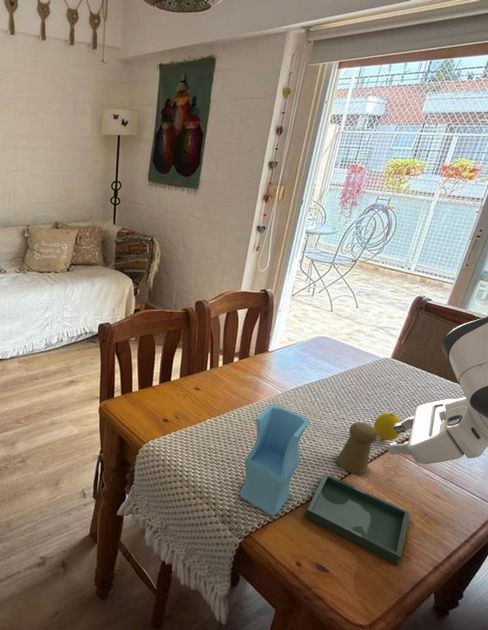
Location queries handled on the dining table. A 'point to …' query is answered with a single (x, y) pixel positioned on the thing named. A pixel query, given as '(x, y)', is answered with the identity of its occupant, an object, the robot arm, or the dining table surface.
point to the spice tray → (360, 517)
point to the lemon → (386, 426)
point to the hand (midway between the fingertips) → (392, 438)
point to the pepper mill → (357, 448)
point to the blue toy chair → (273, 458)
